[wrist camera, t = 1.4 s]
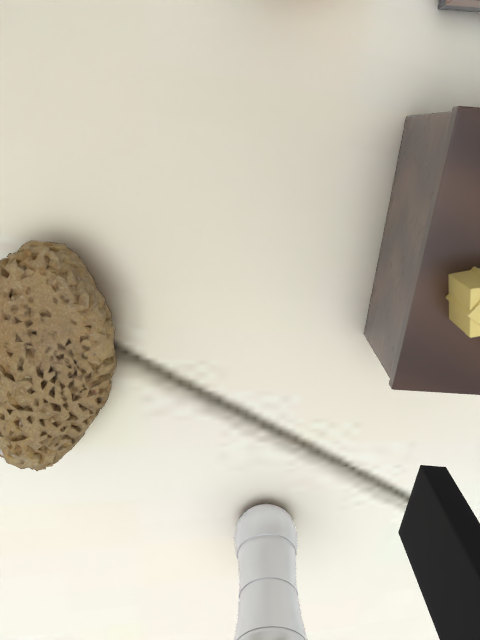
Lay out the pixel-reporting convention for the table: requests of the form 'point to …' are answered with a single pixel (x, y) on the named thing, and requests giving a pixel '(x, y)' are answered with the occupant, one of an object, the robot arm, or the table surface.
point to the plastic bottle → (267, 576)
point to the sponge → (50, 353)
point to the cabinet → (429, 256)
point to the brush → (460, 5)
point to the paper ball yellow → (465, 301)
